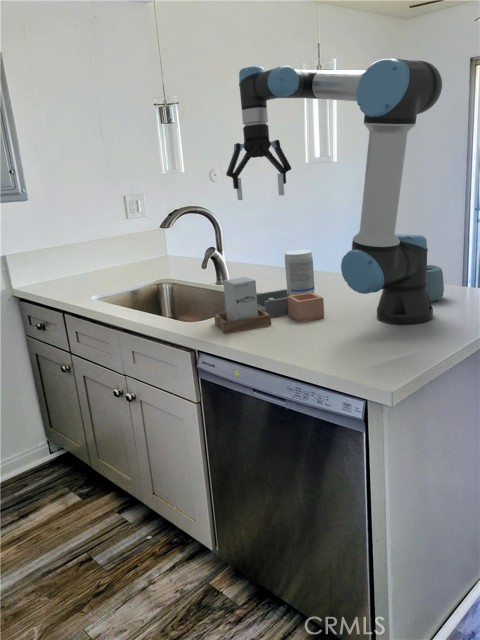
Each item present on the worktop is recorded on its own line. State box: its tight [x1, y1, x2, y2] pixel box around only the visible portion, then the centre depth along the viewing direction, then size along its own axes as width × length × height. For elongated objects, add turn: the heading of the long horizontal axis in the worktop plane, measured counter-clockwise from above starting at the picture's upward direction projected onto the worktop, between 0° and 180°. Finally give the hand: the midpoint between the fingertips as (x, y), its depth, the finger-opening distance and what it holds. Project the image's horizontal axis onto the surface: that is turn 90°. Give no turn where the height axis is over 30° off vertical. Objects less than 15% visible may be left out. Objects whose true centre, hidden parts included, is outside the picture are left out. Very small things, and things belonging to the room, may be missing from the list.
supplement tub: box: [284, 249, 316, 296], centre depth 182 cm, size 10×10×15 cm
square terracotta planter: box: [287, 292, 325, 323], centre depth 155 cm, size 8×8×6 cm
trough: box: [213, 307, 272, 334], centre depth 154 cm, size 11×14×3 cm
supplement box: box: [222, 276, 258, 322], centre depth 152 cm, size 7×7×13 cm
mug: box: [427, 264, 445, 303], centre depth 163 cm, size 15×11×10 cm
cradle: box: [256, 288, 295, 318], centre depth 164 cm, size 12×11×6 cm
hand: (261, 197), depth 162 cm, fingers open, 13 cm apart
